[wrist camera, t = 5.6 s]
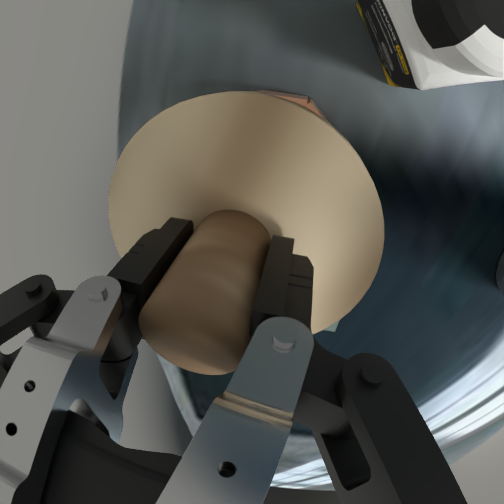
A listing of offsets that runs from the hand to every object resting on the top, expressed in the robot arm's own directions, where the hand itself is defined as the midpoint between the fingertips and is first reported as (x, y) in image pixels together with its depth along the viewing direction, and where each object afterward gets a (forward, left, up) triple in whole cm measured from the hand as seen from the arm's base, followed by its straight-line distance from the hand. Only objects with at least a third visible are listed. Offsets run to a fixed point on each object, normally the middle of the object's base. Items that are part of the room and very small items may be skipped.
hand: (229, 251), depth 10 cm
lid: (0, 0, -2) cm, 2 cm away
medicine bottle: (-9, -12, -15) cm, 21 cm away
